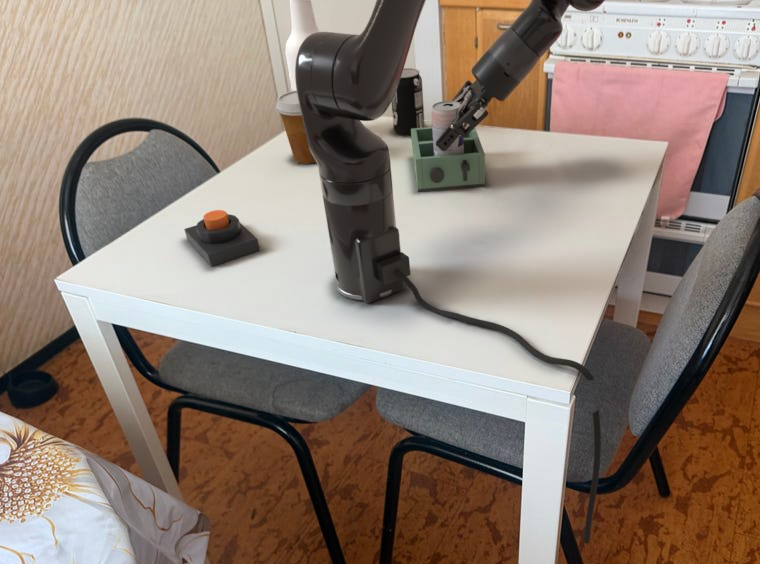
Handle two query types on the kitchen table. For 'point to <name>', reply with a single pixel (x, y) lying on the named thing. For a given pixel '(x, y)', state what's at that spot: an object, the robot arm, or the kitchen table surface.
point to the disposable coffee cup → (294, 127)
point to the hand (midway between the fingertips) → (438, 141)
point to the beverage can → (408, 103)
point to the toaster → (447, 163)
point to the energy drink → (445, 126)
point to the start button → (216, 219)
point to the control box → (222, 241)
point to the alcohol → (299, 33)
